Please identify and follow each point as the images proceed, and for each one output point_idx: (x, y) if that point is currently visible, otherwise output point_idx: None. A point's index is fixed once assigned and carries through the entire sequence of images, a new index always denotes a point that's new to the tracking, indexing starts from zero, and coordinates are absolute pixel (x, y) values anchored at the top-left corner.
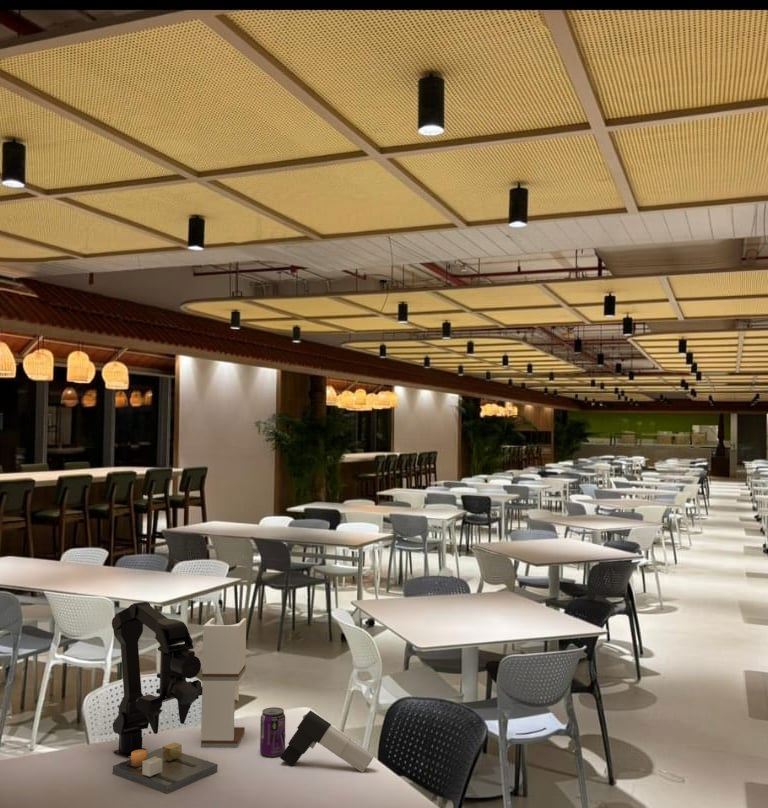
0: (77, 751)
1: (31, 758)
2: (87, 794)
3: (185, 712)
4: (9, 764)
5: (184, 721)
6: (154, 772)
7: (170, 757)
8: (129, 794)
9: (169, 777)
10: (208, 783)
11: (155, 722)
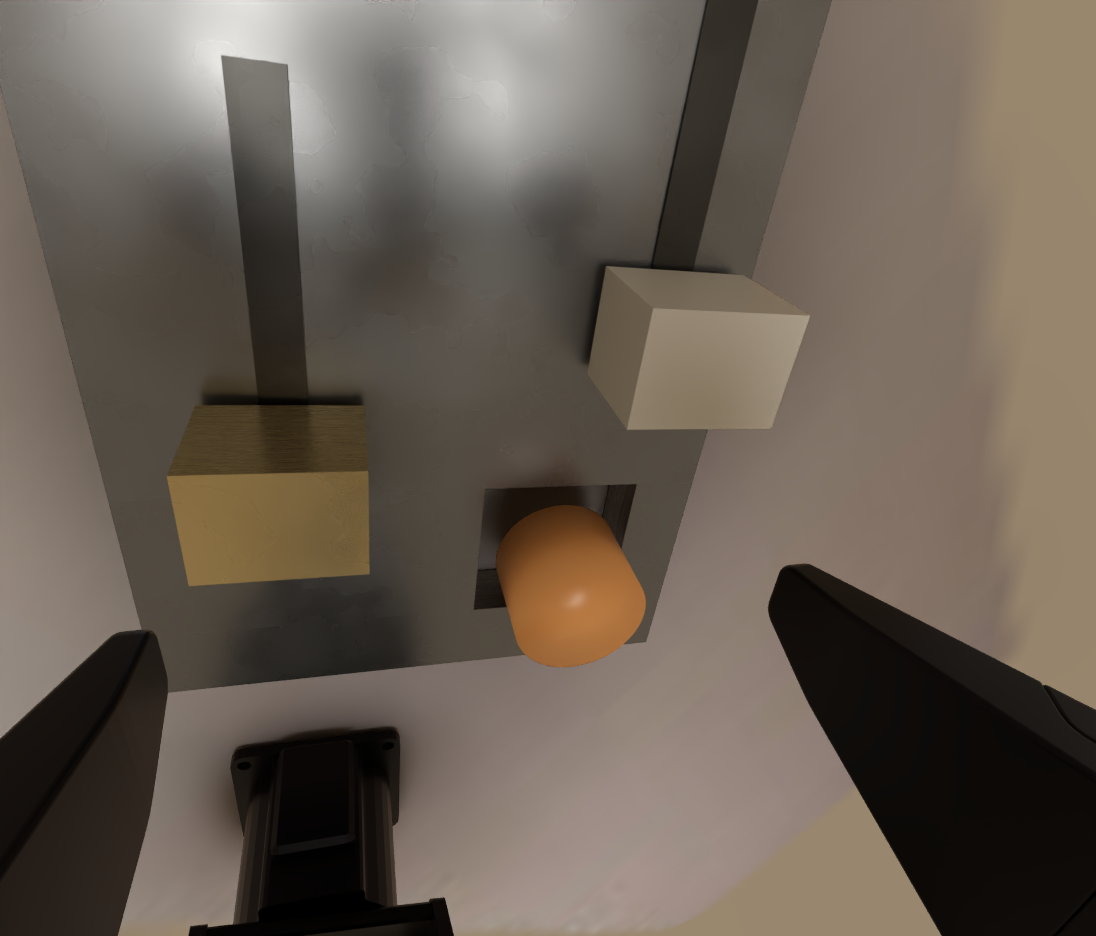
0: (485, 895)
1: (637, 908)
2: (913, 479)
3: (3, 866)
4: (713, 896)
5: (93, 660)
6: (702, 278)
7: (361, 420)
8: (873, 265)
9: (666, 93)
10: None
11: (1061, 695)
